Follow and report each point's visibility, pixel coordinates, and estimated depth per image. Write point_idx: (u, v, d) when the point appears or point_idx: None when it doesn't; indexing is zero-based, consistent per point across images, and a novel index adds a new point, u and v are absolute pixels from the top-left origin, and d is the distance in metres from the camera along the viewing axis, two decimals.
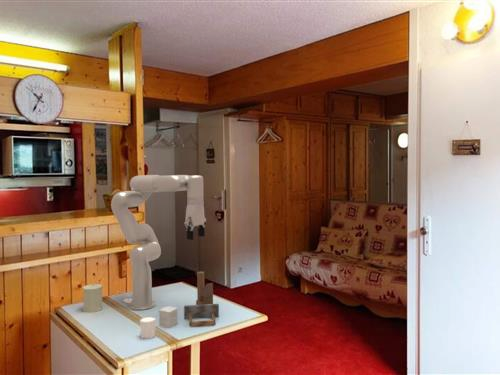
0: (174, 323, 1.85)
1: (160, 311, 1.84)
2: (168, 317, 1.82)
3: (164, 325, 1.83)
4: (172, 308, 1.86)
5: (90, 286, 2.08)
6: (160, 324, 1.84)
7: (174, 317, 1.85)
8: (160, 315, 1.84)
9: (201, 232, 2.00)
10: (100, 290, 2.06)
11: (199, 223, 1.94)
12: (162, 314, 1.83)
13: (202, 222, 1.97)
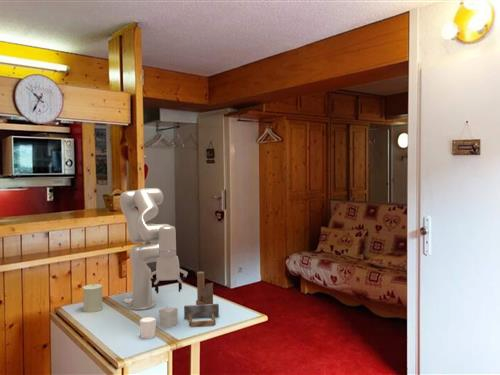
0: (174, 323, 1.85)
1: (160, 311, 1.84)
2: (168, 317, 1.82)
3: (164, 325, 1.83)
4: (172, 308, 1.86)
5: (90, 286, 2.08)
6: (160, 324, 1.84)
7: (174, 317, 1.85)
8: (160, 315, 1.84)
9: (158, 288, 1.84)
10: (100, 290, 2.06)
11: None
12: (162, 314, 1.83)
13: None
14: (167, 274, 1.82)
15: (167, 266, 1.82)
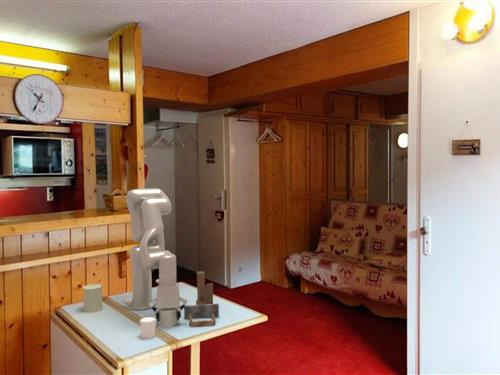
0: (174, 323, 1.85)
1: (160, 311, 1.84)
2: (168, 317, 1.82)
3: (164, 325, 1.83)
4: (172, 308, 1.86)
5: (90, 286, 2.08)
6: (160, 324, 1.84)
7: (174, 316, 1.85)
8: (160, 314, 1.84)
9: None
10: (100, 290, 2.06)
11: None
12: (162, 314, 1.83)
13: None
14: (167, 302, 1.83)
15: (167, 294, 1.83)
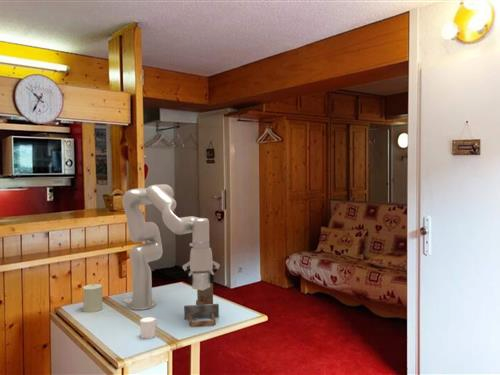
0: (207, 286, 1.88)
1: (193, 274, 1.87)
2: (202, 279, 1.85)
3: (197, 288, 1.86)
4: (205, 271, 1.89)
5: (90, 286, 2.08)
6: (193, 287, 1.87)
7: (207, 280, 1.88)
8: (193, 277, 1.87)
9: None
10: (100, 290, 2.06)
11: None
12: (196, 277, 1.86)
13: None
14: (201, 265, 1.85)
15: (200, 257, 1.85)
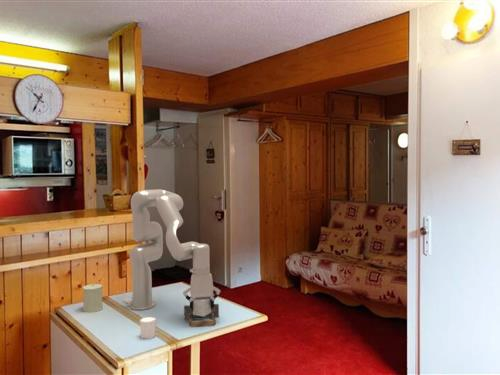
0: (208, 312, 1.88)
1: (194, 300, 1.87)
2: (202, 306, 1.85)
3: (198, 314, 1.86)
4: (205, 297, 1.89)
5: (90, 286, 2.08)
6: (194, 313, 1.87)
7: (208, 305, 1.88)
8: (194, 303, 1.87)
9: None
10: (100, 290, 2.06)
11: None
12: (197, 303, 1.86)
13: None
14: (201, 291, 1.86)
15: (201, 283, 1.86)
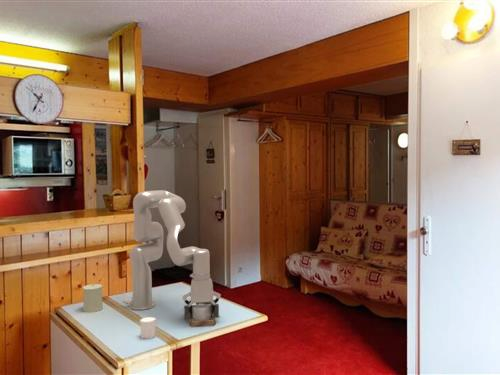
0: None
1: (194, 308, 1.87)
2: (202, 314, 1.85)
3: None
4: (205, 305, 1.90)
5: (90, 286, 2.08)
6: None
7: (207, 314, 1.88)
8: (194, 312, 1.87)
9: None
10: (100, 290, 2.06)
11: None
12: (196, 311, 1.87)
13: None
14: (201, 297, 1.86)
15: (201, 289, 1.86)
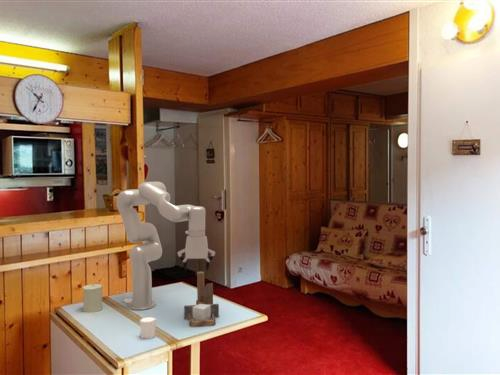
0: None
1: (194, 308, 1.87)
2: (202, 314, 1.85)
3: None
4: (205, 305, 1.90)
5: (90, 286, 2.08)
6: None
7: (207, 314, 1.88)
8: (194, 312, 1.87)
9: None
10: (100, 290, 2.06)
11: None
12: (196, 311, 1.87)
13: None
14: (196, 253, 1.88)
15: (196, 245, 1.88)
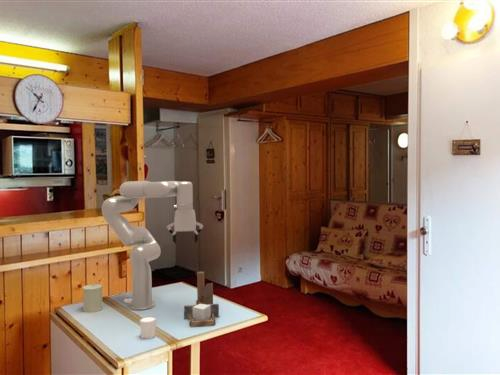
0: None
1: (194, 308, 1.87)
2: (202, 314, 1.85)
3: None
4: (205, 305, 1.90)
5: (90, 286, 2.08)
6: None
7: (207, 314, 1.88)
8: (194, 312, 1.87)
9: None
10: (100, 290, 2.06)
11: None
12: (196, 311, 1.87)
13: None
14: (184, 225, 1.96)
15: (184, 218, 1.96)
